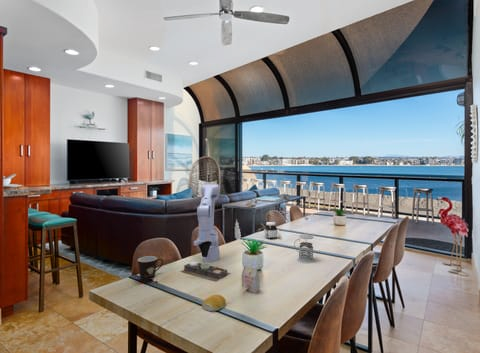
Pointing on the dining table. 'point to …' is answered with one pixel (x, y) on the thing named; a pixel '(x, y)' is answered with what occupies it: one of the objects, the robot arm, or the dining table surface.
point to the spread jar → (271, 231)
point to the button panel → (205, 272)
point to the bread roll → (214, 303)
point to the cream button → (193, 263)
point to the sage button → (205, 266)
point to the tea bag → (250, 279)
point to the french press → (305, 249)
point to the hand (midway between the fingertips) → (204, 256)
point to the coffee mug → (147, 268)
